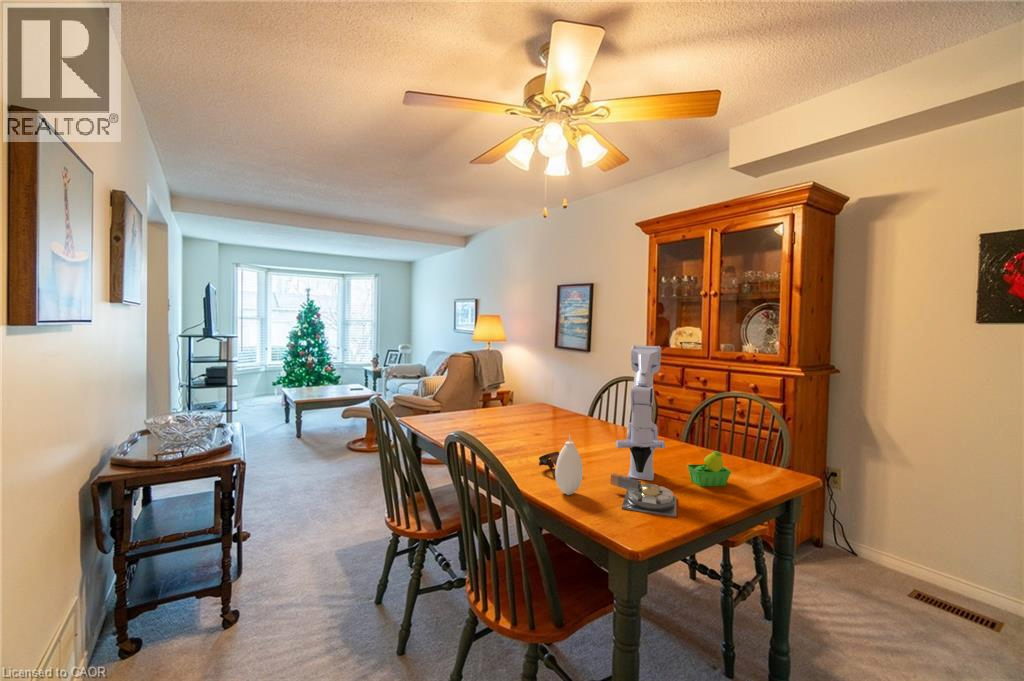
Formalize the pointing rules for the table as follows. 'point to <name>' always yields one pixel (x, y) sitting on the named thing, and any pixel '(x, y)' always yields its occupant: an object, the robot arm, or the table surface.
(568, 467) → the air blower bulb
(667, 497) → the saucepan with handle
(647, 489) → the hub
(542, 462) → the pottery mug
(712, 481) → the fruit basket
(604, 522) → the table surface
